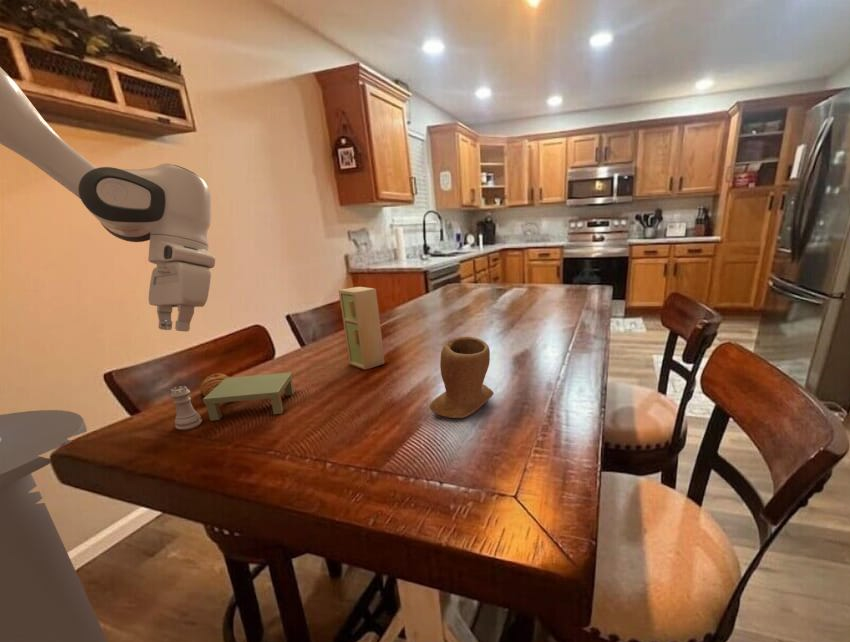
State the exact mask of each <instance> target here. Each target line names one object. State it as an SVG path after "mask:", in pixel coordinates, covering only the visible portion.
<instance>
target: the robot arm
mask: <svg viewBox="0 0 850 642" xmlns="http://www.w3.org/2000/svg"><path fill="white" fill-rule="evenodd" d="M0 145H1V146H4V147H5V148H6V149H9V150H10V151H12V152H14V153H16V154H18V155H19V156H21V157H22V158H24V159H26V160H27V161H28V162H30V163H32V164H33V165H34V166H35V167H37V168H39V169H40V170H41V171H43V172H44V173H45V174H47V176H49V177H50V178H52V179H53V180H55V181H56V182H57V183H59V184H60V185H62V187H64V188H66V189H67V190H68V191H69V192H71V193H72V194H74V195H75V196H76V197H77V198H78V199H80V201H81V203H82V204H83V205H84V206H85V208H86V209H87V210H88V212H89V213H90V214H91V215H92V216H94V217H95V219H96V220H97V221H98V222H99V223H100V225H101V226H102V227H103V228H104V229H105V230H106V231H107V232H108V233H109V234H111V235H112V236H114V237H115V238H118V239H119V240H122V241H125V242H131V243H143V242H149V245H148V257H147V258H148V259H147V260H148V262H149V263H151V264H153V265H156V267H154V268H153V270H151V271H152V272H151V276H150V281H149V282H150V283H149V290H148V304H149V305H150V306H153V307H156V313H157V318H158V329H159V330H163V331H171V330H172V329H173V321H172V314H173V308H177V319H176V320H175V324H174V325H175V326H174V329H175V331H177V332H185V333H186V332H189V331H190V329H191V322H192V320H193V316H194V314H195V308H202V307H204V306H205V305H206V303H207V301H208V298H209V292H210V286H211V279H212V269H213V268H214V267H215V265H216V257H215V255H213V254H211V252H209V240H208V231H209V229H210V226H211V221H212V219H211V217H212V197H211V190H210V187H209V186H208V184H207V183H206V181H205V180H204V179H203V178H202V177H201V176H199V175H198V174H196V172H194V171H191V170H189V169H187V168H185V167H182V166H180V165H177V164H172V163H161V164H159V165H156V166H153V167H149V168H133V169H132V168H131V169H129V168H117V167H112V166H101V167H97V166H95V165H94V164H93V163H92V162H91V161H89V160H88V159H87V158H85V156H83V155H82V154H80V152H78V151H77V150H75V149H74V148H73V147H72V146H70V145H69V144H68V143H67V142H66V141H65V140H64V139H63V138H61V137H60V136H59V134H57V132H55V130H54V129H53V128H52V127H51V126H50V125H49V123H48V122H47V121H46V120H45V119H44V117H43V116H42V115H41V113H40V112H39V111H38V110H37V109H36V107H35V106H34V105H33V103H32V101H30V99H29V98H28V97H27V96H26V94H25V93H24V91H23V90H22V89H21V88H20V87H19V85H18V84H17V83H16V82H15V81H14V80H13V78H12V77H11V76H10V75H9V74H8V73H7V72H6V71H5V70H4V69H3V68H2V67H1V66H0ZM0 442H1V437H0Z"/></svg>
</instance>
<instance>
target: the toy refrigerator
mask: <svg viewBox="0 0 850 642" xmlns="http://www.w3.org/2000/svg"><path fill="white" fill-rule="evenodd" d="M338 296H339V304H340V310H341V315H342V322H343V329H344V336H345V344H346V349H347V350H346V351H347V356H348V363H349V365H351V366H353V367H356V368H359V369H361V370H364V371H366V370H369V369H372V368H375V367H379V366H381V365H385V363H386V362H385V353H384V352H385V351H384V345H383V337H382V328H381V321H380V320H381V319H380V312H379V303H378V302H379V301H378V295H377V289H376V288H373V287H365V286H354V287H348V288H342V289H338Z"/></svg>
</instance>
